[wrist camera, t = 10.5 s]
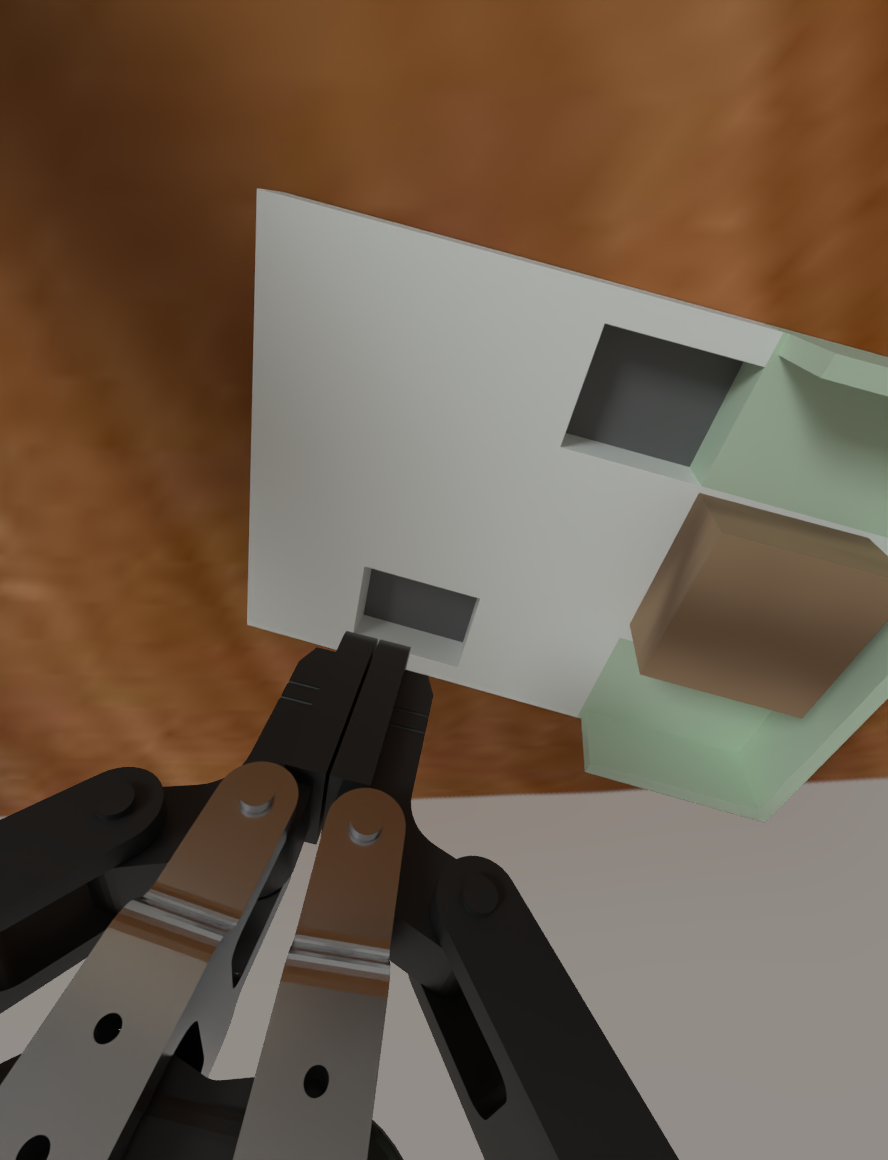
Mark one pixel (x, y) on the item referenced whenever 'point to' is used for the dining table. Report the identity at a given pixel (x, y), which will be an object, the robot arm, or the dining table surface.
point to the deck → (540, 481)
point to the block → (759, 606)
